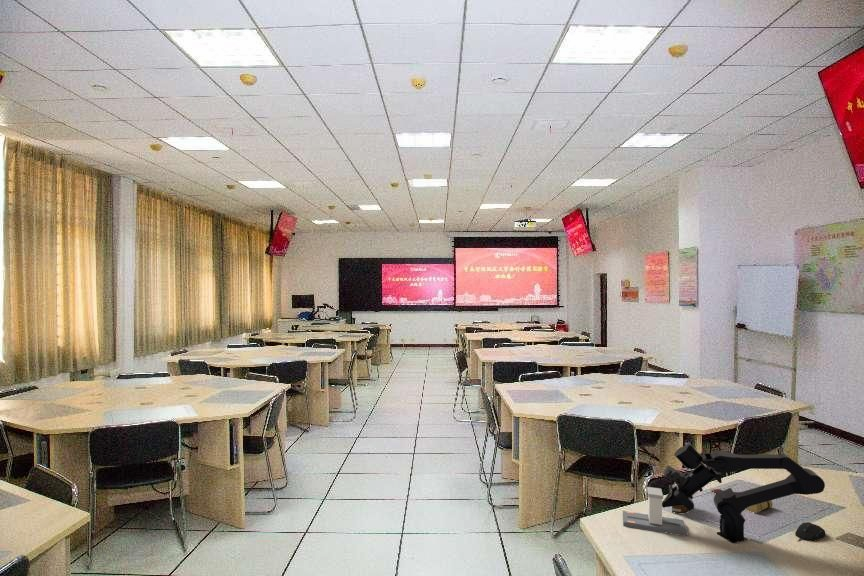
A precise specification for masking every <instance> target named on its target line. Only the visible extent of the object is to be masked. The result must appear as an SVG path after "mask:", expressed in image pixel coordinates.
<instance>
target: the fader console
mask: <svg viewBox="0 0 864 576" xmlns="http://www.w3.org/2000/svg"><path fill="white" fill-rule="evenodd" d="M622 522H623V523H622V526H623V527H629V528H634V529H640V530H647V531H651V530H652V531H653V532H658V533H659V532H660V533H664V532H667V533H666V534H670V533H672V534H671V535H676V534H678V536H683V537H688V530H687V526H686V525H685V524H686V523H685V521H684V519H679V518H675V517H673V518H672V517H668V516H667V517H666V516H665V517H664V516H662V525H659V524H652V523H649V517H648V513H647V514H646V513H642V512H641V513H640V512H634V511H629V510H628V511H625V510H622Z"/></svg>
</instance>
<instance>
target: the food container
mask: <svg viewBox="0 0 864 576" xmlns="http://www.w3.org/2000/svg"><path fill="white" fill-rule="evenodd" d="M673 512H675V513H674V514H679V513H685V514H687V513H686V512H688V513H689V512H690V511H688V510H687V509H686V508H685V507H684V506H683V505H679V506H671V513H673Z"/></svg>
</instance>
